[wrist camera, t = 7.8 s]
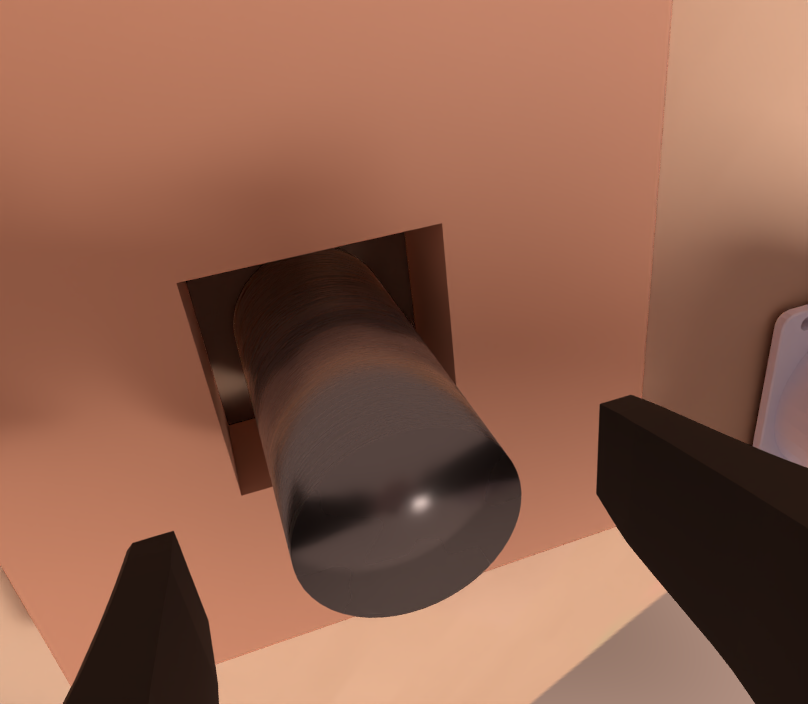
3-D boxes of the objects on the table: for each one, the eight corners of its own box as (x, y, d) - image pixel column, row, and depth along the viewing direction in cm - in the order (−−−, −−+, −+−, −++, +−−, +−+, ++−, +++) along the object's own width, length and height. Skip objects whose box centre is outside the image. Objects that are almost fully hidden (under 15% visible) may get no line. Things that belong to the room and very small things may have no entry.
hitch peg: (375, 230, 18) (518, 398, 11) (394, 364, 20) (524, 572, 13) (215, 268, 17) (265, 473, 10) (253, 403, 19) (315, 646, 12)
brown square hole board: (594, -91, 16) (680, -102, 13) (581, 462, 24) (632, 520, 21) (-219, 15, 12) (-313, 28, 10) (91, 618, 20) (84, 709, 18)
